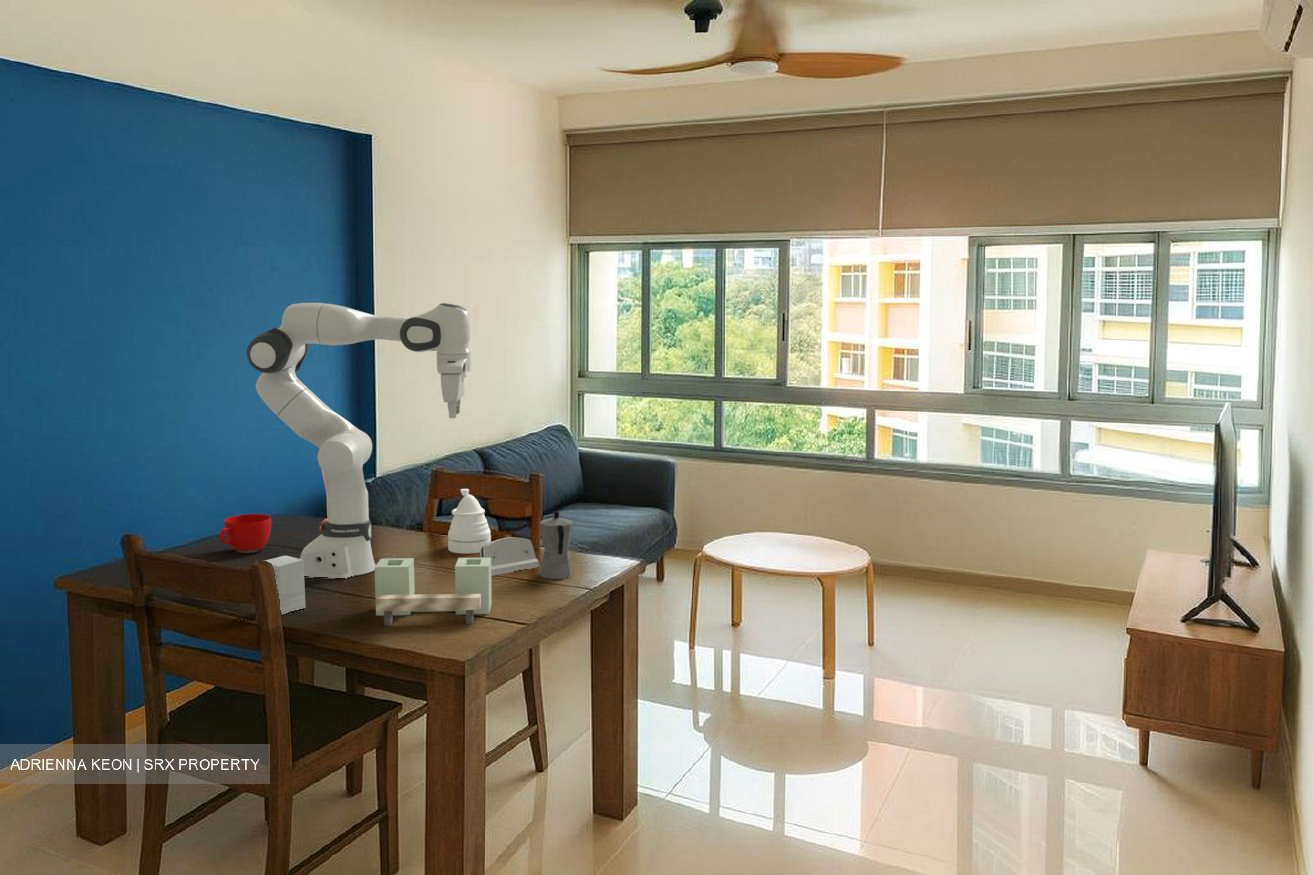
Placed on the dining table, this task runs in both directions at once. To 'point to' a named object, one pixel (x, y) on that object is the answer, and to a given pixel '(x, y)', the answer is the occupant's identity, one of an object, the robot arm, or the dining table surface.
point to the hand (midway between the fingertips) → (454, 416)
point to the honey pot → (468, 526)
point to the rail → (428, 604)
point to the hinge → (509, 555)
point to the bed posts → (469, 579)
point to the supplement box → (289, 582)
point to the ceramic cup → (247, 531)
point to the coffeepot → (556, 547)
